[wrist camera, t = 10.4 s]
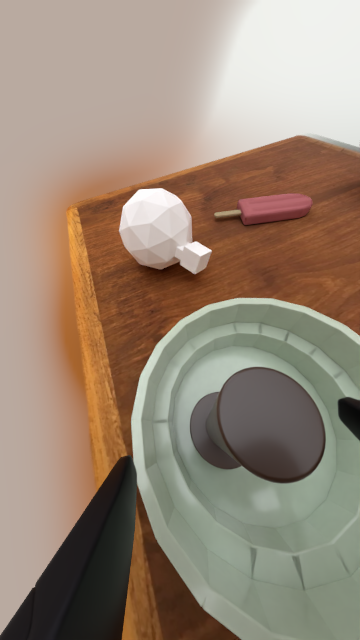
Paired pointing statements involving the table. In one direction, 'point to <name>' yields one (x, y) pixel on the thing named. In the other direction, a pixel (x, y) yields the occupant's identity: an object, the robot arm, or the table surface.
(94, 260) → the table surface
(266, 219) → the popsicle
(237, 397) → the pestle
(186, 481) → the bowl
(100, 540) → the robot arm
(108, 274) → the table surface
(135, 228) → the perfume bottle
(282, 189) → the table surface
